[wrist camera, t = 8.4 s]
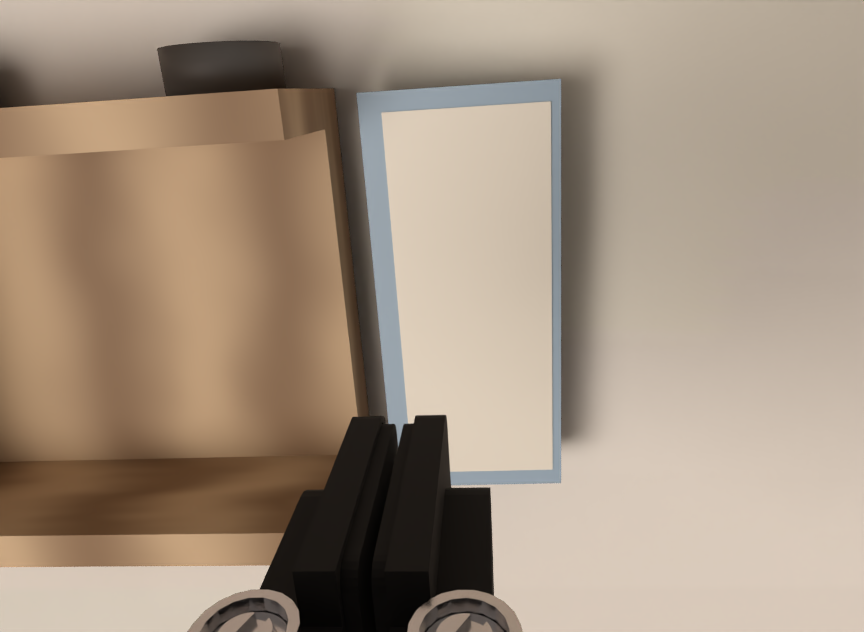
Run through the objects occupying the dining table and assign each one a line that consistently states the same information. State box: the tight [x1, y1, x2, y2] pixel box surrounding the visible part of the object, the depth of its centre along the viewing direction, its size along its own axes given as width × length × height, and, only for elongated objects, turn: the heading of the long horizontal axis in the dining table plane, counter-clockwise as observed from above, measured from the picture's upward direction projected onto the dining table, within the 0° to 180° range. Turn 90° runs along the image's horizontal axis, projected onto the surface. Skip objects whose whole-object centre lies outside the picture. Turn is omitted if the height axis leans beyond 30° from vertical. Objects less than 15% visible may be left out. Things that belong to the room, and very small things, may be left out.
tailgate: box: [356, 79, 561, 485], centre depth 22 cm, size 1×14×6 cm
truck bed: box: [0, 41, 369, 567], centre depth 21 cm, size 16×17×8 cm
